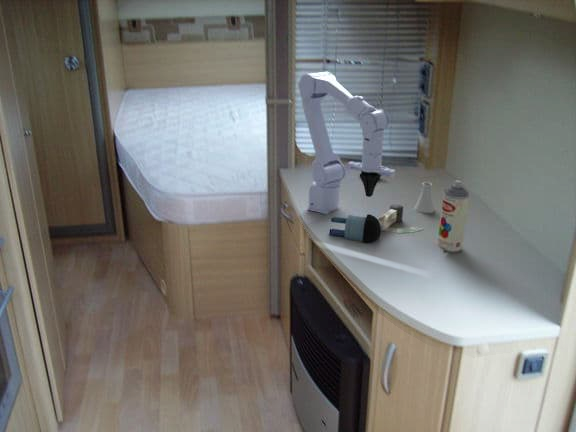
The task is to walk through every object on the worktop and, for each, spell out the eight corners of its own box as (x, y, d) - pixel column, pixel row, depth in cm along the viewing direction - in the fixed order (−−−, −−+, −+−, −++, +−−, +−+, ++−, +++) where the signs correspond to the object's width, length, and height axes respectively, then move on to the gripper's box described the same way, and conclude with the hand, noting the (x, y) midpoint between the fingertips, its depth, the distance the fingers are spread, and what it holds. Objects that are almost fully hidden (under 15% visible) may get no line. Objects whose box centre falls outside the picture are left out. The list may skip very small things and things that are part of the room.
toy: (329, 241, 177) (380, 248, 172) (324, 235, 168) (376, 242, 164) (334, 214, 178) (384, 220, 174) (329, 206, 170) (381, 213, 166)
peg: (392, 216, 187) (393, 202, 185) (404, 219, 185) (405, 205, 183) (372, 231, 176) (374, 216, 174) (385, 234, 174) (386, 219, 172)
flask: (435, 217, 190) (439, 188, 186) (412, 215, 191) (415, 186, 187) (435, 209, 196) (438, 181, 193) (412, 207, 198) (415, 179, 194)
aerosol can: (432, 245, 170) (439, 179, 163) (451, 241, 173) (460, 176, 165) (447, 255, 164) (455, 186, 157) (466, 251, 167) (476, 183, 159)
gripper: (343, 151, 175) (341, 194, 180) (389, 159, 167) (385, 204, 173) (354, 145, 180) (352, 188, 185) (399, 153, 173) (395, 197, 178)
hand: (369, 195), depth 179 cm, fingers closed
